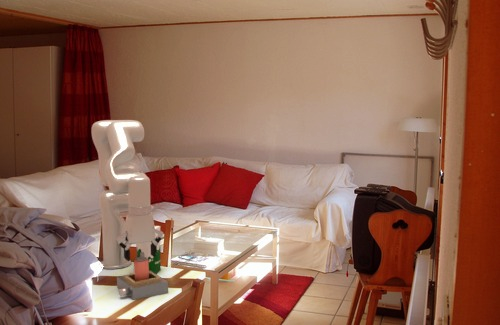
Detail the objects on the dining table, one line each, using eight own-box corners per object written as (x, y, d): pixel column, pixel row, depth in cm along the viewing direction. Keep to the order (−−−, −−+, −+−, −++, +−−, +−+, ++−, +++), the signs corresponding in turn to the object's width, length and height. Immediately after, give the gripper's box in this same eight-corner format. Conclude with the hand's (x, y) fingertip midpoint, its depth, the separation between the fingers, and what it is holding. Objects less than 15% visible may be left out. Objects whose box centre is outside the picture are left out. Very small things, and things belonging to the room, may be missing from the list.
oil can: (133, 286, 196) (131, 251, 195) (146, 283, 199) (144, 249, 197) (138, 290, 192) (136, 254, 190) (151, 287, 195) (150, 252, 193)
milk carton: (142, 268, 223) (141, 219, 221) (163, 269, 221) (162, 220, 219) (134, 274, 214) (132, 224, 212) (155, 275, 213) (154, 225, 211)
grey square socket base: (109, 289, 197) (108, 275, 197) (150, 281, 206) (150, 268, 205) (124, 301, 184) (123, 287, 183) (168, 292, 192) (167, 279, 192)
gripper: (158, 206, 201) (159, 251, 203) (112, 211, 192) (113, 259, 194) (166, 210, 195) (167, 256, 197) (119, 215, 185) (120, 264, 188)
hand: (140, 257), depth 195 cm, fingers open, 9 cm apart
